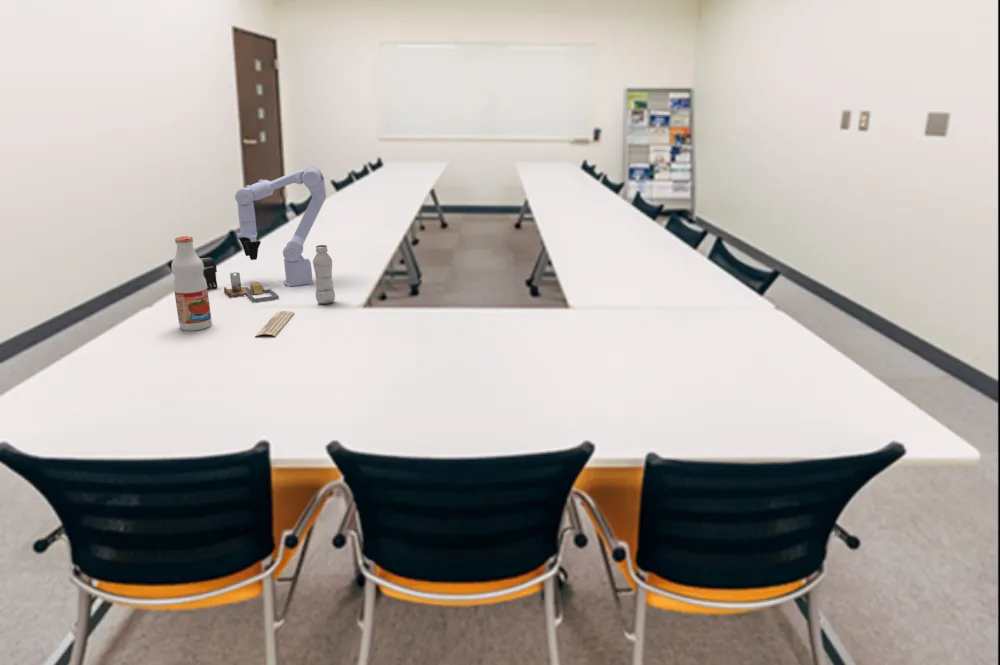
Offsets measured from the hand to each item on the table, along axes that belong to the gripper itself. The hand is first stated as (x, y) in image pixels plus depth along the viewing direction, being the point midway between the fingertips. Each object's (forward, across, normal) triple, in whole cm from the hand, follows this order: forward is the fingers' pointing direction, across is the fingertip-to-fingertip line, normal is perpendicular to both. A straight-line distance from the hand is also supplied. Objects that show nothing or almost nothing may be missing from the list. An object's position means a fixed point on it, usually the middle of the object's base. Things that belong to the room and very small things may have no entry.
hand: (251, 257), depth 273 cm
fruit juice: (+11, +42, -28) cm, 52 cm away
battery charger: (+11, -2, -16) cm, 19 cm away
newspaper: (+11, +53, -7) cm, 55 cm away
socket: (+10, +15, -2) cm, 18 cm away
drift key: (+10, +12, -2) cm, 16 cm away
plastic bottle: (+10, +38, +15) cm, 42 cm away
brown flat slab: (+10, +10, -8) cm, 16 cm away
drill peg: (+9, +10, -8) cm, 16 cm away
